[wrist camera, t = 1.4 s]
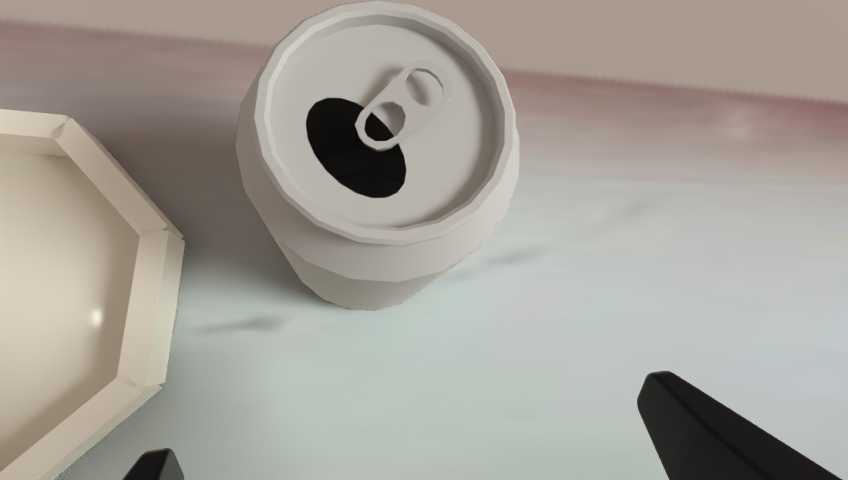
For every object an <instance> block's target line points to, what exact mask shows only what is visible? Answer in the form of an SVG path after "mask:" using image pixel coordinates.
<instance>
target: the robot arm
mask: <svg viewBox="0 0 848 480" xmlns="http://www.w3.org/2000/svg"><path fill="white" fill-rule="evenodd" d="M637 405H638V410H639V412H640V415H641V417H642V419H643V422H644V424H645V426H646V428H647V431H648V433H649V435H650V437H651V440H652V442H653V444H654V446H655V449H656V451H657V453H658V455H659V458H660V460H661V462H662V465H663V467H664V469H665V471H666V473H667V476H668V478H669V480H842V479H840V478H839V477H837V476H836V475H834V474H832V473H831V472H829V471H828V470H826V469H824V468H823V467H821V466H820V465H818V464H817V463H815V462H813V461H812V460H810V459H809V458H807V457H805V456H804V455H802V454H801V453H799V452H798V451H796V450H794V449H793V448H791V447H790V446H788V445H786V444H785V443H783V442H782V441H780V440H778V439H777V438H775V437H774V436H772V435H771V434H769V433H767V432H766V431H764V430H763V429H761V428H759V427H758V426H756V425H755V424H753V423H752V422H750V421H748V420H747V419H745V418H744V417H742V416H740V415H739V414H737V413H736V412H734V411H732V410H731V409H729V408H728V407H726V406H725V405H723V404H721V403H720V402H718V401H717V400H715V399H713V398H712V397H710V396H709V395H707V394H706V393H704V392H702V391H701V390H699V389H698V388H696V387H694V386H693V385H691V384H690V383H688V382H687V381H685V380H683V379H682V378H680V377H679V376H677V375H675V374H674V373H672V372H669V371H660V372H653V373H650V374H648V375H647V377H646V379H645V381H644V384H643V386H642V389H641V391H640V393H639V396H638V399H637ZM122 480H184V475H183V472H182V470H181V468H180V465H179V463H178V461H177V458H176V456H175V454H174V452H173V450H171V449H170V448H165V449H158V450H152V451H148V452H145V453H144V454H143V455H142V456H141V457H140V458H139V459H138V460H137V462H136V463H135V464H134V465H133V467H132V468H131V469H130V470H129V472H128V473H127V474H126V476H125V477H124V478H123V479H122Z"/></svg>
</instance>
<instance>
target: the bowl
mask: <svg viewBox="0 0 848 480" xmlns="http://www.w3.org/2000/svg"><path fill="white" fill-rule="evenodd" d="M183 237H184V236H183V235H182V234H181V233H180V232H179V231H178V229H177V228H176V227H175V226H174V225H173V224H172V223H171V222H170V220H169V219H168V218H167V217H166V216H165V215H164V214H163V213H162V211H161V210H160V209H159V208H158V207H157V206H156V205H155V204H154V202H153V201H152V200H151V199H150V198H149V197H148V196H147V195H146V193H145V192H144V191H143V190H142V189H141V188H140V187H139V185H138V184H137V183H136V182H135V181H134V180H133V179H132V178H131V176H130V175H129V174H128V173H127V172H126V171H125V170H124V169H123V167H122V166H121V165H120V164H119V163H118V162H117V161H116V160H115V158H114V157H113V156H112V155H111V154H110V153H109V152H108V151H107V149H106V148H105V147H104V146H103V145H102V144H101V143H100V142H99V140H98V139H97V138H95V137H94V136H93V135H92V134H91V133H90V132H88V131H87V130H86V129H85V128H84V127H82V126H81V125H80V124H79V123H78V122H76V121H75V120H74V119H73V118H71V119H70V118H69V117H68V116H67V115H59V114H48V113H37V112H27V111H16V110H5V109H0V480H54V479H55V478H56V477H57V476H58V475H60V474H61V473H62V472H63V471H64V470H66V469H67V468H68V467H69V466H70V465H71V464H73V463H74V462H75V461H76V460H77V459H79V458H80V457H81V456H82V455H83V454H85V453H86V452H87V451H88V450H89V449H90V448H92V447H93V446H94V445H95V444H96V443H98V442H99V441H100V440H101V439H102V438H104V437H105V436H106V435H107V434H108V433H109V432H111V431H112V430H113V429H114V428H115V427H117V426H118V425H119V424H120V423H121V422H123V421H124V420H125V419H126V418H127V417H128V416H130V415H131V414H132V413H133V412H134V411H136V410H137V409H138V408H139V407H140V406H142V405H143V404H144V403H145V402H146V401H147V400H149V399H150V398H151V397H152V396H153V395H155V394H156V393H157V392H158V391H159V390H161V389H162V388H161V386H160V385H159V384H161V383H165V380H166V373H167V366H168V360H169V353H170V346H171V339H172V335H173V332H174V327H175V322H176V317H177V313H178V303H179V283H180V276H181V269H182V262H183V255H184V248H185V241H184V240H182V238H183Z"/></svg>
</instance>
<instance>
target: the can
mask: <svg viewBox="0 0 848 480" xmlns="http://www.w3.org/2000/svg"><path fill="white" fill-rule="evenodd" d="M235 150H236V154H237V159H238V164H239V169H240V173H241V178H242V183H243V187H244V191H245V193H246V194H247V196H248V198H249V199H250V201H251V202H252V204H253V206H254V207H255V209H256V211H257V212H258V214H259V215H260V217H261V219H262V220H263V222H264V224H265V225H266V227H267V228H268V230H269V232H270V233H271V235H272V236H273V238H274V239H275V241H276V243H277V244H278V246H279V247H280V249H281V250H282V252H283V253H284V255H285V257H286V258H287V260H288V261H289V263H290V264H291V266H292V267H293V269H294V270H295V272H296V274H297V275H298V277H299V278H300V280H301V281H302V282H303V283H304V284H305V285H306V286H308V287H309V288H310V289H311V290H312V291H314V292H315V293H316V294H317V295H318V296H320V297H321V298H322V299H324V300H326V301H329V302H331V303H334V304H337V305H339V306H342V307H344V308H347V309H356V310H373V311H376V310H379V309H383V308H387V307H391V306H395V305H398V304H401V303H403V302H405V301H406V300H408V299H409V298H411V297H412V296H414V295H415V294H417V293H419V292H420V291H422V290H423V289H424V288H426V287H427V286H429V285H430V284H431V283H433V282H434V281H435V280H437V279H438V278H439V277H441V276H442V275H443V274H445V273H446V272H447V271H449V270H450V269H451V268H453V267H454V266H455V265H457V264H458V263H459V262H461V261H462V260H464V259H465V258H466V257H468V256H469V255H470V254H472V253H473V252H474V251H476V250H477V249H478V248H480V247H481V245H482V244H483V243H484V242H485V240H486V239H487V238H488V237H489V235H490V234H491V233H492V231H493V230H494V229H495V228H496V226H497V225H498V224H499V223H500V221H501V220H502V219H503V217H504V216H505V215H506V213H507V210H508V207H509V204H510V201H511V198H512V195H513V192H514V189H515V186H516V183H517V181H518V178H519V135H518V131H517V128H516V125H515V109H514V106H513V103H512V100H511V97H510V94H509V91H508V88H507V85H506V82H505V79H504V76H503V75H502V73H501V72H500V71H499V69H498V68H497V66H496V65H495V63H494V62H493V61H492V59H491V58H490V56H489V55H488V54H487V52H486V51H485V49H484V48H483V46H482V45H480V44H479V43H478V42H477V41H476V40H474V39H473V38H472V37H471V36H469V35H468V34H467V33H466V32H465V31H463V30H462V29H461V28H460V27H458V26H457V25H456V24H455V23H453V22H452V21H450V20H448V19H445V18H443V17H441V16H439V15H436V14H434V13H432V12H430V11H427V10H425V9H423V8H421V7H419V6H415V5H409V4H403V3H396V2H390V1H383V0H371V1H363V2H355V3H346V4H339V5H336V6H334V7H332V8H329V9H327V10H325V11H323V12H320V13H318V14H316V15H314V16H311V17H309V18H307V19H304V20H302V21H301V22H300V23H299V24H298V25H297V26H296V27H295V28H294V29H293V30H291V31H290V32H289V33H288V34H287V35H286V36H285V37H284V38H283V39H281V40H280V41H279V42H278V43H277V44H276V45H275V46H274V47H273V49H272V51H271V53H270V55H269V56H268V58H267V60H266V62H265V64H264V65H263V66H261V68H260V70H259V72H258V73H257V75H256V77H255V79H254V81H253V83H252V85H251V86H250V88H249V90H248V92H247V94H246V96H245V97H244V99H243V101H242V103H241V108H240V115H239V121H238V128H237V135H236V142H235Z"/></svg>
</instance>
